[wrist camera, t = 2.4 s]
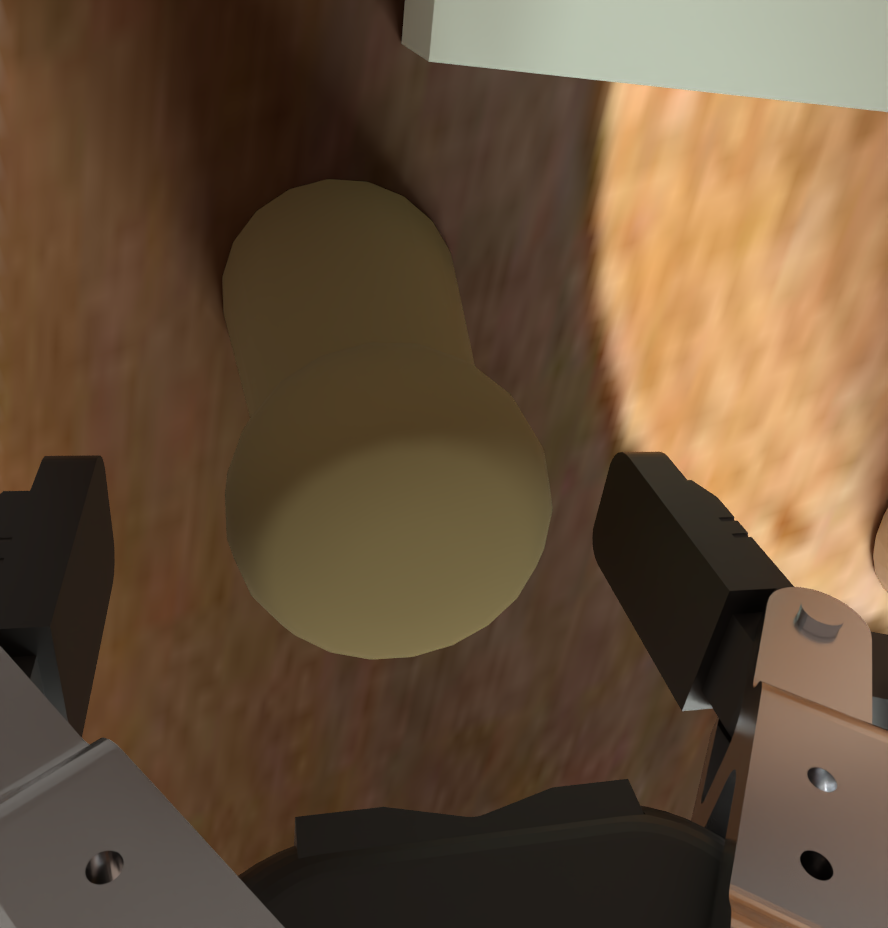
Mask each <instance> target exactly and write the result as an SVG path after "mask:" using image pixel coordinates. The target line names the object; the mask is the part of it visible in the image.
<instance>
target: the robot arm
mask: <svg viewBox="0 0 888 928" xmlns="http://www.w3.org/2000/svg"><path fill="white" fill-rule="evenodd" d="M593 550H594V555H595V558H596V561H597V563H598V565H599V567H600V569H601V571H602V572H603V574H604V576H605V578H606V579H607V581H608V583H609V585H610V586H611V588H612V590H613V591H614V593H615V595H616V597H617V598H618V600H619V602H620V604H621V605H622V607H623V609H624V611H625V612H626V614H627V616H628V618H629V619H630V621H631V623H632V625H633V626H634V628H635V630H636V632H637V633H638V635H639V637H640V639H641V640H642V642H643V644H644V646H645V647H646V649H647V651H648V653H649V654H650V656H651V658H652V659H653V661H654V663H655V665H656V666H657V668H658V670H659V672H660V673H661V675H662V677H663V679H664V680H665V682H666V684H667V686H668V687H669V689H670V691H671V693H672V694H673V696H674V698H675V700H676V701H677V703H678V705H679V707H680V708H681V710H682V711H688V710H699V709H709V708H713V709H714V711H715V712H716V714H717V716H718V717H717V720H716V722H715V724H714V727H713V729H712V732H711V735H710V739H709V744H708V748H707V753H706V757H705V761H704V766H703V770H702V775H701V779H700V784H699V788H698V792H697V797H696V801H695V806H694V810H693V815H692V819H691V821H690V820H688V819H685V818H683V817H680V816H677V815H674V814H671V813H669V812H666V811H662V810H658V809H654V808H650V807H645V806H640V804H639V802H638V800H637V798H636V796H635V793H634V791H633V789H632V787H631V785H630V783H629V780H628V779H624V780H615V781H606V782H597V783H589V784H580V785H571V786H562V787H554V788H550V789H548V790H545V791H543V792H540V793H538V794H535V795H533V796H530V797H528V798H525V799H522V800H520V801H517V802H515V803H512V804H510V805H507V806H505V807H502V808H500V809H497V810H495V811H492V812H490V813H487V814H485V815H482V816H478V817H463V816H454V815H446V814H438V813H429V812H421V811H413V810H404V809H396V808H388V807H379V808H370V809H362V810H353V811H344V812H335V813H327V814H318V815H309V816H301V817H295V842H294V846H293V847H290V848H288V849H285V850H283V851H281V852H278V853H276V854H274V855H272V856H270V857H268V858H266V859H265V860H263V861H261V862H259V863H257V864H255V865H254V866H252V867H251V868H249V869H248V870H246V871H245V872H243V873H242V874H240V875H239V876H237V875H236V874H235V873H234V872H233V871H232V870H231V868H230V867H229V866H228V865H227V864H226V863H225V862H224V861H223V860H222V859H221V858H220V856H219V855H218V854H217V853H216V852H215V851H214V850H213V849H212V848H211V847H210V846H209V844H208V843H207V842H206V841H205V840H204V839H203V838H202V837H201V836H200V835H199V834H198V832H197V831H196V830H195V829H194V828H193V827H192V826H191V825H190V824H189V823H188V822H187V820H186V819H185V818H184V817H183V816H182V815H181V814H180V813H179V812H178V811H177V809H176V808H175V807H174V806H173V805H172V804H171V803H170V802H169V801H168V800H167V799H166V797H165V796H164V795H163V794H162V793H161V792H160V791H159V790H158V789H157V788H156V787H155V785H154V784H153V783H152V782H151V781H150V780H149V779H148V778H147V777H146V776H145V775H144V773H143V772H142V771H141V770H140V769H139V768H138V767H137V766H136V765H135V764H134V763H133V761H132V760H131V759H130V758H129V757H128V756H127V755H126V754H125V753H124V752H123V751H122V750H121V749H120V748H119V747H118V746H117V745H116V744H115V743H114V742H112V741H111V740H109V739H106V738H100V739H98V740H97V741H95V742H93V743H92V744H90V745H89V744H88V743H86V742H85V741H84V740H83V739H82V734H83V729H84V724H85V719H86V714H87V709H88V704H89V699H90V694H91V689H92V684H93V679H94V674H95V669H96V664H97V659H98V654H99V649H100V644H101V639H102V634H103V629H104V624H105V619H106V614H107V609H108V604H109V599H110V594H111V589H112V584H113V577H114V540H113V531H112V523H111V515H110V507H109V499H108V490H107V482H106V474H105V467H104V462H103V459H102V457H101V456H45V457H44V458H43V460H42V462H41V464H40V467H39V470H38V472H37V475H36V477H35V480H34V483H33V485H32V488H31V490H30V491H3V492H2V493H1V494H0V928H888V635H886V634H880V633H875V632H870V629H869V627H868V626H867V624H866V623H865V621H864V620H863V619H862V618H861V616H860V615H859V614H857V613H856V612H855V611H854V610H853V609H852V608H850V607H849V606H848V605H846V604H845V603H843V602H841V601H840V600H838V599H836V598H834V597H832V596H830V595H827V594H825V593H822V592H819V591H816V590H813V589H808V588H801V587H794V586H793V585H792V584H791V583H790V581H789V580H788V579H787V578H786V577H785V576H784V574H783V573H782V572H781V571H780V570H779V569H778V567H777V566H776V565H775V564H774V563H773V562H772V560H771V559H770V558H769V557H768V556H767V555H766V553H765V552H764V551H763V550H762V549H761V548H760V546H759V545H758V544H757V543H756V542H755V541H754V539H753V538H752V537H748V532H747V531H746V530H745V529H744V528H743V527H742V525H741V524H740V523H739V522H738V521H734V516H733V515H732V514H731V513H730V512H729V510H728V509H727V508H726V507H725V506H724V505H723V503H722V502H721V501H720V500H719V499H718V498H717V497H716V496H715V495H713V494H712V493H710V492H709V491H707V490H706V489H704V488H703V487H701V486H699V485H698V484H696V483H695V482H693V481H692V480H687V479H686V478H685V477H684V476H683V474H682V473H681V472H680V471H679V470H678V468H677V467H676V466H675V465H674V464H673V462H672V461H671V460H670V459H669V458H668V456H667V455H666V454H664V453H662V452H620V453H617V454H616V455H615V456H614V458H613V459H612V462H611V464H610V467H609V471H608V475H607V479H606V482H605V486H604V490H603V494H602V498H601V501H600V505H599V509H598V513H597V516H596V520H595V524H594V528H593ZM873 559H874V566H875V573H876V575H877V577H878V579H879V581H880V583H881V585H882V587H883V588H884V589H885V590H886V591H887V592H888V509H887V510H886V512H885V514H884V516H883V519H882V521H881V524H880V527H879V529H878V532H877V535H876V539H875V546H874V553H873Z"/></svg>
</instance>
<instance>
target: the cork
mask: <svg viewBox="0 0 888 928" xmlns="http://www.w3.org/2000/svg"><path fill="white" fill-rule="evenodd" d="M222 286H223V313H224V317H225V321H226V325H227V329H228V333H229V337H230V341H231V345H232V348H233V352H234V356H235V360H236V364H237V368H238V372H239V376H240V380H241V384H242V387H243V391H244V395H245V399H246V403H247V407H248V411H249V415H250V420H249V421H248V423H247V425H246V426H245V428H244V429H243V431H242V434H241V436H240V439H239V442H238V445H237V448H236V450H235V453H234V456H233V459H232V462H231V464H230V467H229V470H228V473H227V480H226V490H225V506H226V530H227V540H228V543H229V546H230V548H231V551H232V554H233V557H234V559H235V561H236V563H237V566H238V568H239V570H240V572H241V574H242V576H243V578H244V581H245V583H246V585H247V587H248V589H249V591H250V593H251V596H252V597H253V598H254V599H255V600H256V601H257V602H259V603H260V604H261V605H262V606H263V607H264V608H265V609H266V610H267V611H268V612H269V613H270V614H271V615H272V616H273V617H274V618H275V619H276V620H277V621H278V622H279V623H280V624H281V625H283V626H284V627H285V628H286V629H288V630H289V631H290V632H291V633H293V634H294V635H295V636H297V637H299V638H302V639H304V640H306V641H308V642H310V643H312V644H314V645H316V646H318V647H320V648H322V649H325V650H327V651H329V652H331V653H337V654H343V655H348V656H354V657H360V658H365V659H386V658H402V657H414V656H417V655H420V654H424V653H427V652H431V651H434V650H437V649H441V648H444V647H448V646H451V645H454V644H455V643H457V642H459V641H461V640H462V639H464V638H466V637H468V636H470V635H471V634H473V633H475V632H477V631H479V630H480V629H482V628H484V627H486V626H488V625H489V624H490V623H491V622H492V621H493V620H494V619H495V618H496V617H497V616H499V615H500V614H501V613H502V612H503V611H504V610H505V609H506V608H507V607H508V606H509V605H510V604H511V603H512V602H513V601H515V600H516V599H517V598H518V596H519V594H520V592H521V591H522V589H523V587H524V586H525V584H526V582H527V581H528V579H529V577H530V576H531V574H532V572H533V571H534V569H535V567H536V566H537V563H538V561H539V559H540V557H541V554H542V552H543V550H544V547H545V542H546V537H547V533H548V528H549V523H550V519H551V514H552V502H551V493H550V486H549V479H548V473H547V467H546V461H545V454H544V449H543V447H542V445H541V444H540V442H539V440H538V439H537V437H536V436H535V434H534V432H533V431H532V429H531V427H530V426H529V424H528V422H527V421H526V419H525V417H524V416H523V414H522V412H521V411H520V409H519V407H518V406H517V404H516V403H515V401H514V399H513V398H512V396H511V395H510V394H509V393H508V392H507V391H505V390H504V389H503V388H501V387H500V386H499V385H498V384H496V383H495V382H494V381H492V380H491V379H490V378H489V377H487V376H486V375H485V374H483V373H482V372H481V371H480V370H478V369H477V368H476V367H475V365H474V360H473V356H472V351H471V346H470V341H469V337H468V332H467V327H466V323H465V318H464V313H463V308H462V304H461V299H460V294H459V290H458V285H457V280H456V275H455V271H454V266H453V261H452V257H451V252H450V251H449V249H448V247H447V245H446V244H445V242H444V240H443V239H442V237H441V235H440V233H439V232H438V230H437V228H436V227H435V225H434V223H433V221H432V220H430V219H429V218H428V217H427V216H426V215H425V214H423V213H422V212H421V211H420V210H419V209H418V208H417V207H415V206H414V205H413V204H412V203H411V202H410V201H409V200H407V199H406V198H405V197H404V196H401V195H399V194H397V193H394V192H392V191H389V190H387V189H384V188H382V187H380V186H377V185H375V184H372V183H370V182H365V181H351V180H336V179H326V180H322V181H319V182H315V183H311V184H307V185H303V186H300V187H296V188H292V189H289V190H287V191H286V192H284V193H283V194H281V195H280V196H278V197H277V198H275V199H274V200H272V201H271V202H269V203H268V204H266V205H265V206H263V207H262V208H260V209H259V210H257V211H256V212H255V214H254V215H253V216H252V218H251V219H250V220H249V222H248V223H247V224H246V226H245V227H244V228H243V230H242V231H241V232H240V234H239V235H238V236H237V238H236V239H235V240H234V242H233V244H232V248H231V251H230V254H229V257H228V260H227V264H226V267H225V270H224V273H223V276H222Z"/></svg>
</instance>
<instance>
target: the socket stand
mask: <svg viewBox="0 0 888 928" xmlns="http://www.w3.org/2000/svg"><path fill="white" fill-rule="evenodd" d="M402 44H403V45H404V46H406V47H407V48H409V49H410V50H412V51H414V52H415V53H417V54H418V55H420V56H421V57H423V58H424V59H426V60H427V61H429V62H438V63H447V64H457V65H466V66H475V67H484V68H493V69H502V70H511V71H520V72H529V73H538V74H547V75H556V76H566V77H575V78H584V79H593V80H602V81H611V82H620V83H629V84H638V85H647V86H656V87H665V88H674V89H684V90H693V91H702V92H711V93H720V94H729V95H738V96H747V97H756V98H765V99H774V100H783V101H793V102H802V103H811V104H820V105H829V106H838V107H847V108H856V109H865V110H874V111H883V112H888V0H405V5H404V18H403V31H402Z"/></svg>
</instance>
